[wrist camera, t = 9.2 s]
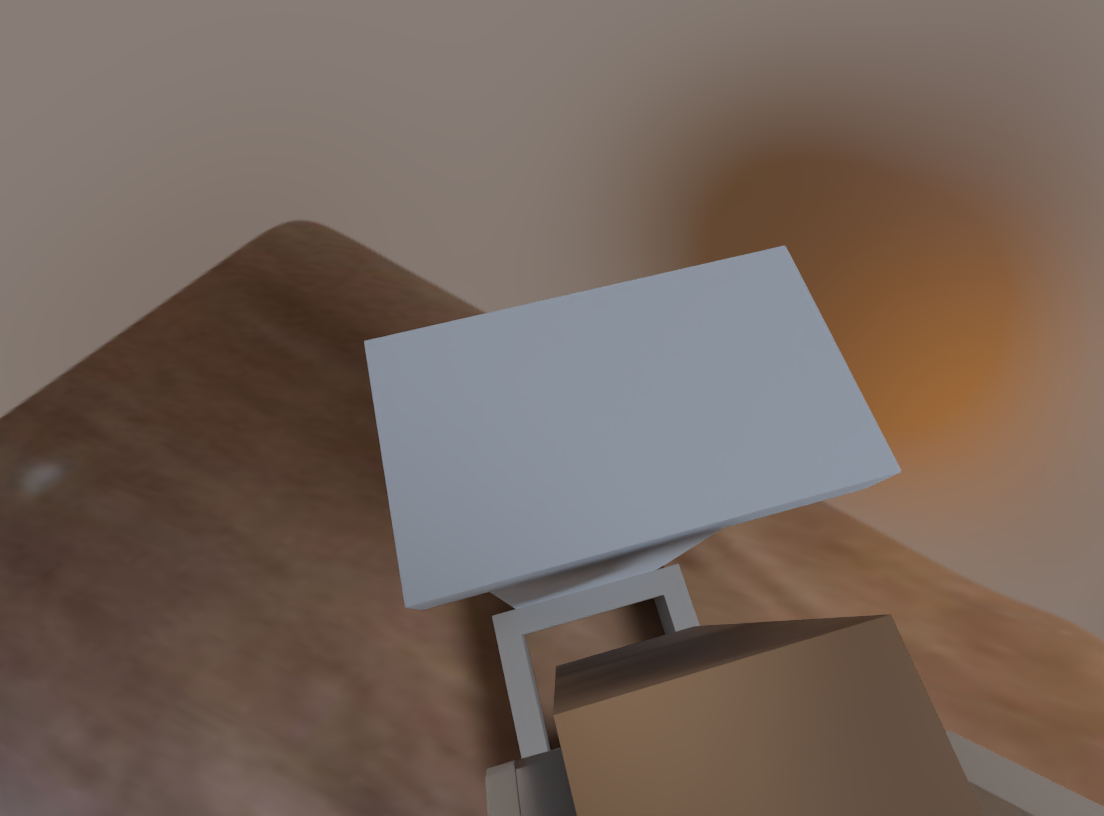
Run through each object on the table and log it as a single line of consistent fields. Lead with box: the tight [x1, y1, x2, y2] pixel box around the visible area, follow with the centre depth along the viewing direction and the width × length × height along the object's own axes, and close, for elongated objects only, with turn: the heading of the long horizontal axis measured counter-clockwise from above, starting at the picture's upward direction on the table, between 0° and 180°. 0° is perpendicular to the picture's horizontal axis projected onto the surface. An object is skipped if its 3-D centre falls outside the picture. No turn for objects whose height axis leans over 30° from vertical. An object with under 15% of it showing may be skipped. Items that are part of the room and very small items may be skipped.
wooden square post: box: [553, 614, 984, 816], centre depth 10 cm, size 4×4×10 cm
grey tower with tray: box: [364, 246, 901, 758], centre depth 16 cm, size 8×12×19 cm
